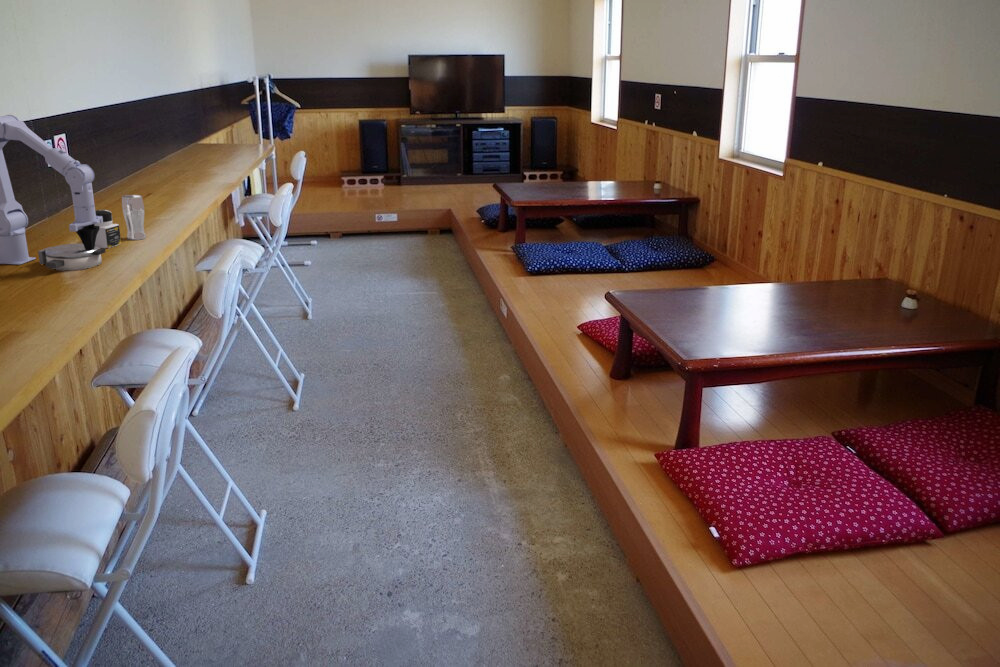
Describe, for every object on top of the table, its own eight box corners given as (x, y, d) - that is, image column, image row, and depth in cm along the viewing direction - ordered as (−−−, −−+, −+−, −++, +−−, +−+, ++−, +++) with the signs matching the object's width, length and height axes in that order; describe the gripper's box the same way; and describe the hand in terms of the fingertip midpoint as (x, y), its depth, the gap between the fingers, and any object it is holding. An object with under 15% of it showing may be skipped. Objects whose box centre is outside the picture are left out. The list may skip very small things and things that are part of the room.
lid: (33, 257, 237) (32, 253, 237) (63, 246, 252) (62, 242, 251) (88, 259, 236) (87, 255, 236) (115, 248, 250) (114, 244, 250)
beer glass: (121, 238, 279) (116, 196, 274) (136, 235, 285) (132, 193, 280) (136, 241, 277) (131, 198, 272) (151, 237, 283) (147, 195, 278)
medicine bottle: (108, 248, 265) (103, 213, 261) (89, 247, 266) (84, 211, 262) (121, 244, 272) (117, 209, 268) (103, 242, 273) (98, 208, 269)
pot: (22, 271, 235) (19, 257, 233) (68, 253, 257) (66, 241, 255) (76, 275, 234) (74, 261, 232) (118, 257, 255) (116, 244, 254)
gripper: (82, 211, 232) (88, 256, 236) (109, 202, 245) (115, 245, 250) (59, 209, 232) (66, 254, 236) (88, 201, 246) (93, 244, 250)
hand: (89, 249), depth 243 cm, fingers closed, pressing on lid
